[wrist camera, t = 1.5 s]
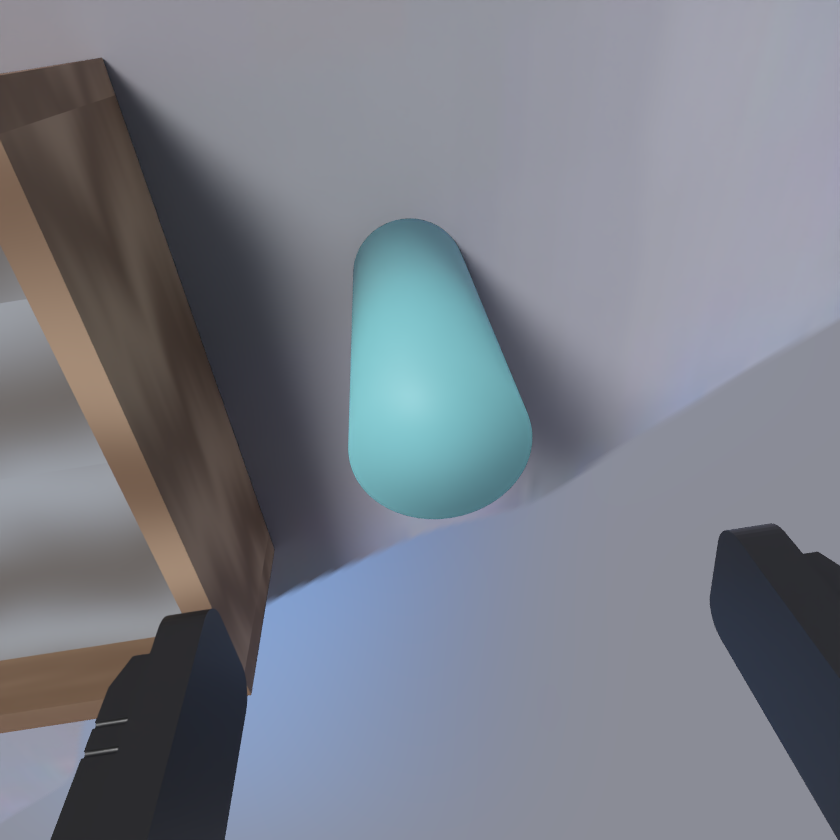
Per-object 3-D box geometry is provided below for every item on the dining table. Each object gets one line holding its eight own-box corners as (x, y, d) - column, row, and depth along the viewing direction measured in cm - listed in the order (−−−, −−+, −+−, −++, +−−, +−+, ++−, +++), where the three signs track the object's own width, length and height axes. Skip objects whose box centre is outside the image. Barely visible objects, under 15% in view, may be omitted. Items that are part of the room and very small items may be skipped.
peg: (343, 228, 22) (331, 383, 13) (458, 210, 22) (528, 351, 13) (364, 333, 24) (366, 530, 15) (469, 317, 24) (535, 504, 15)
